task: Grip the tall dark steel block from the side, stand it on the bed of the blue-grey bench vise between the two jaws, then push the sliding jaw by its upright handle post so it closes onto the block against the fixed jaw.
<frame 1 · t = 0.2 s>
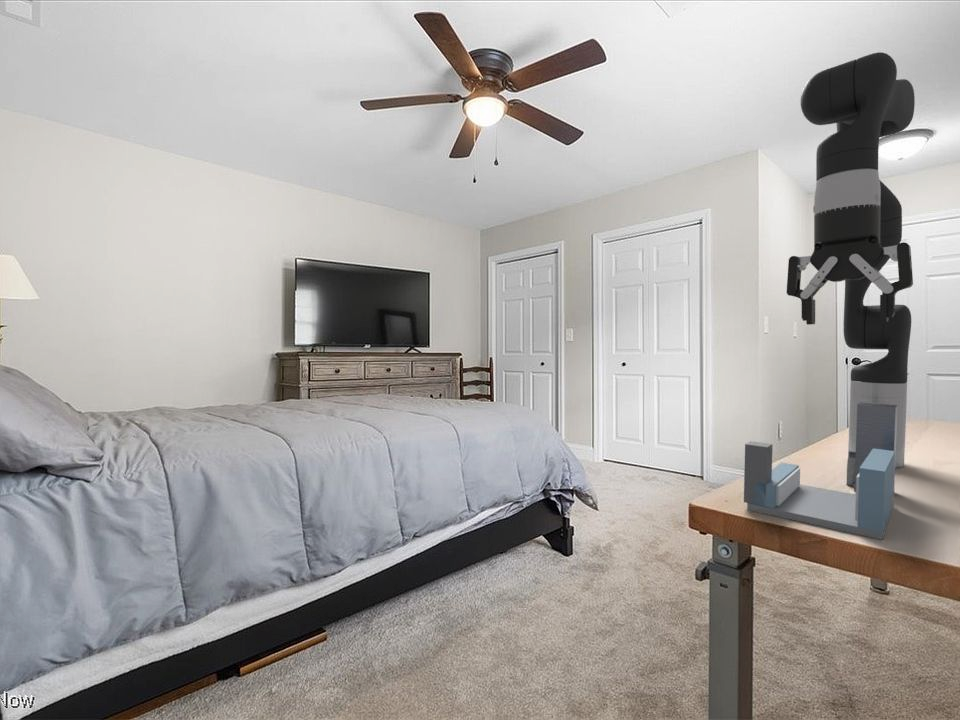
hand: (845, 323, 70), 28 cm above the table, tool pointing down, fingers open, 8 cm apart
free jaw: (774, 466, 78), point 6 cm above the table, slide at 0.0 cm
steel block: (874, 491, 83), on the table
caliper: (860, 477, 93), on the table
vise base: (820, 508, 75), on the table
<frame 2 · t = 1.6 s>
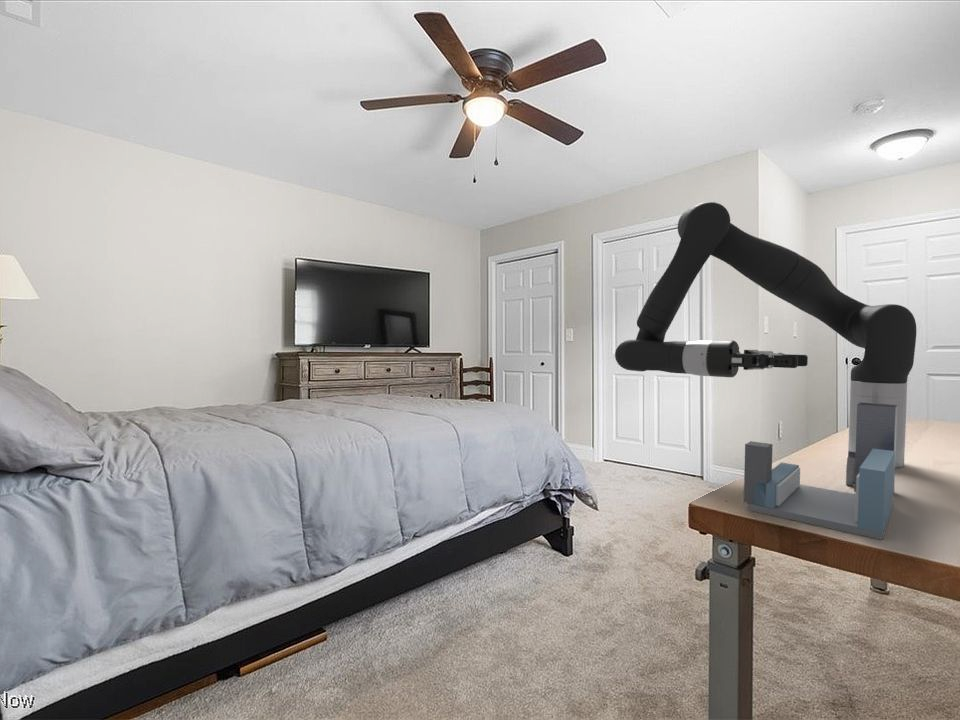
hand: (802, 361, 90), 22 cm above the table, tool horizontal, fingers open, 8 cm apart
nothing on the table moved.
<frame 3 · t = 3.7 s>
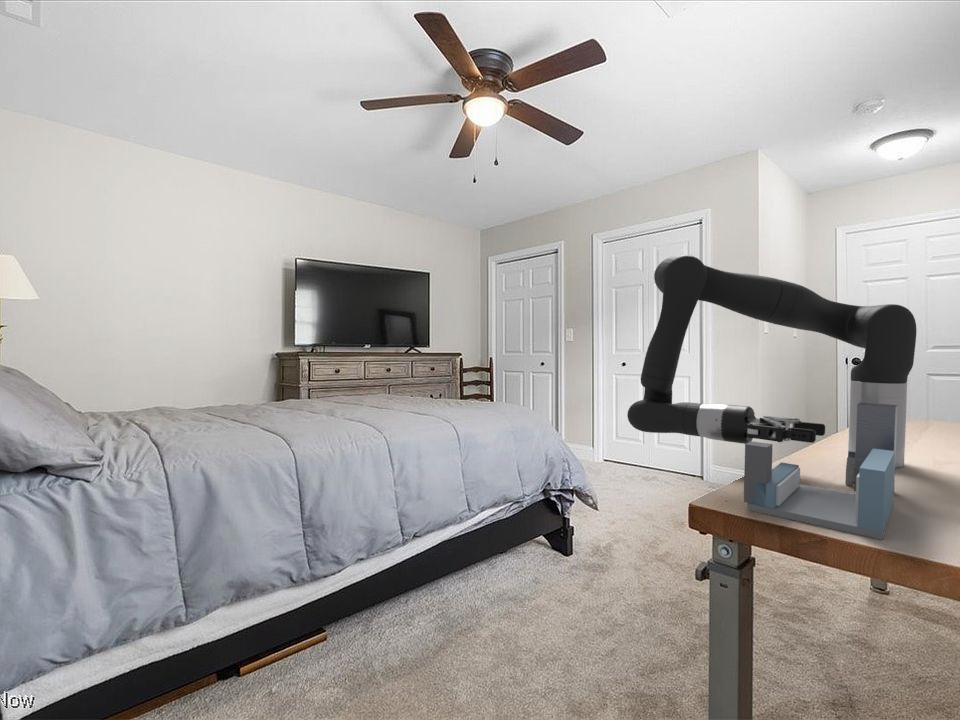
hand: (820, 433, 88), 9 cm above the table, tool horizontal, fingers open, 8 cm apart
nothing on the table moved.
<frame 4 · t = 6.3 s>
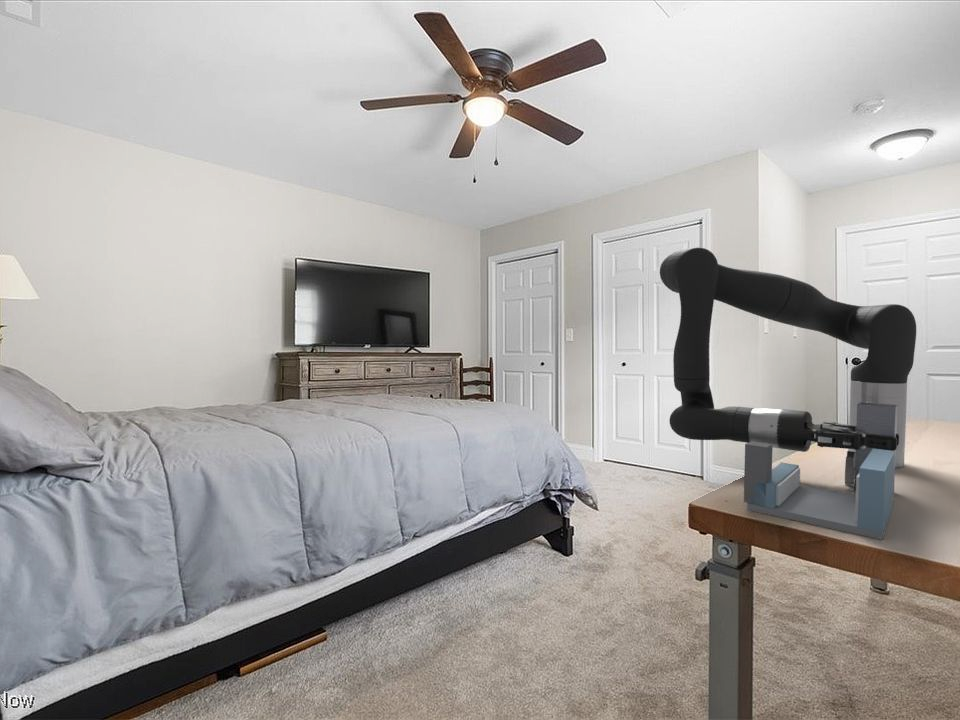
hand: (897, 441, 81), 9 cm above the table, tool horizontal, fingers closed on steel block, 4 cm apart
steel block: (874, 491, 83), on the table, touching gripper
everything else where it was.
when the fingers open (11 cm above the table, at t = 10.2 s): steel block stays where it is, resting on vise base.
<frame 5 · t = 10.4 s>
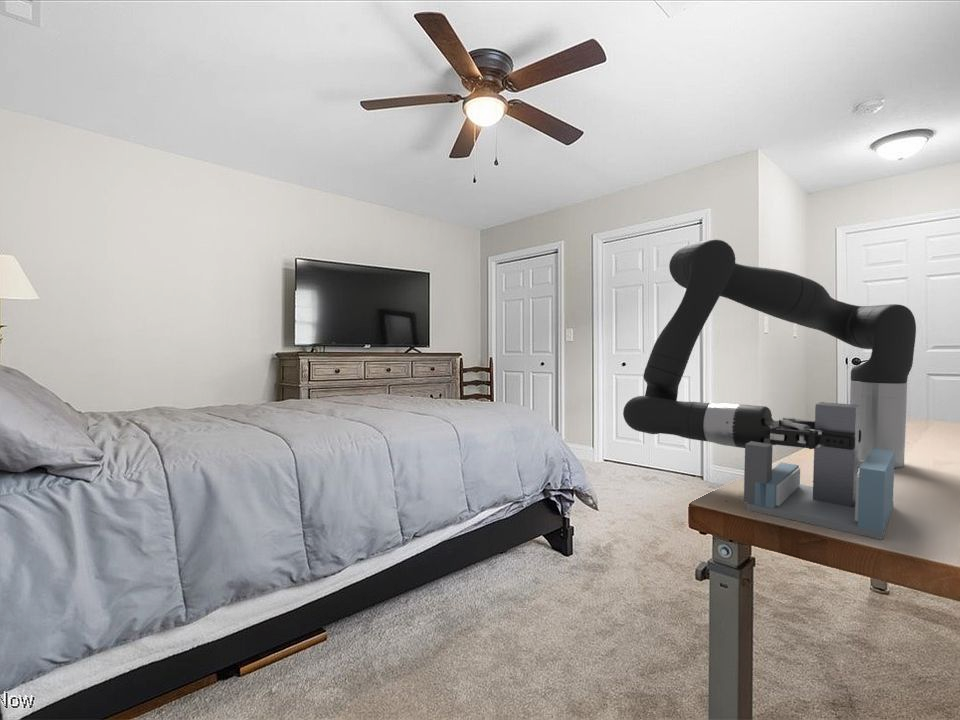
hand: (857, 439, 73), 11 cm above the table, tool horizontal, fingers open, 6 cm apart
steel block: (834, 500, 75), point 1 cm above the table, touching vise base
everything else where it was.
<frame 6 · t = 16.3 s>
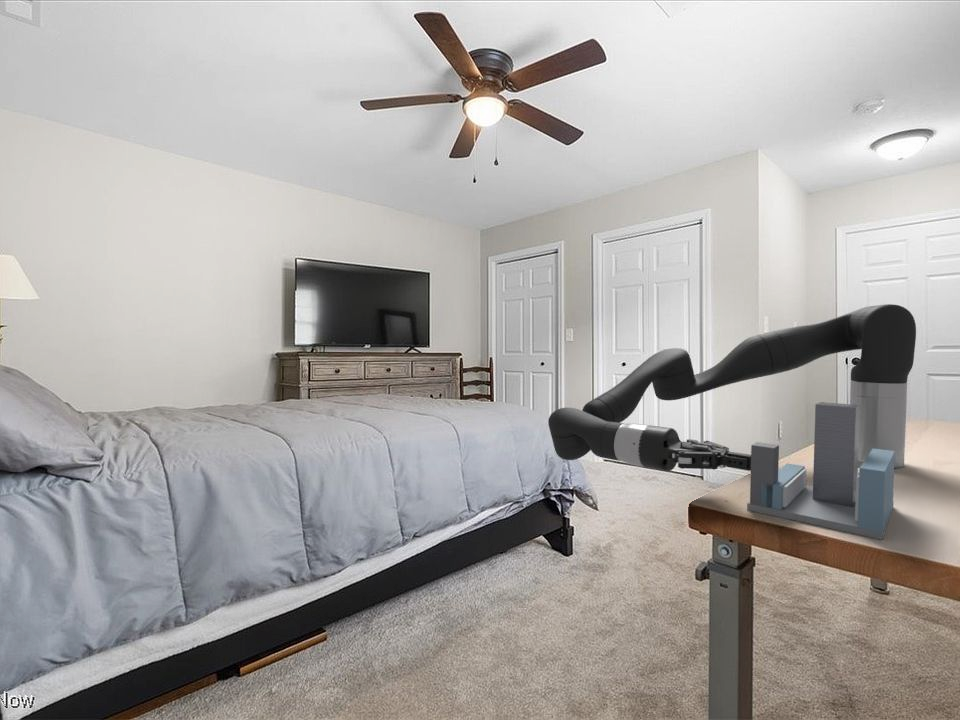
hand: (753, 463, 75), 7 cm above the table, tool horizontal, fingers closed
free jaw: (780, 467, 78), point 6 cm above the table, slide at 0.9 cm, touching gripper
everything else where it was.
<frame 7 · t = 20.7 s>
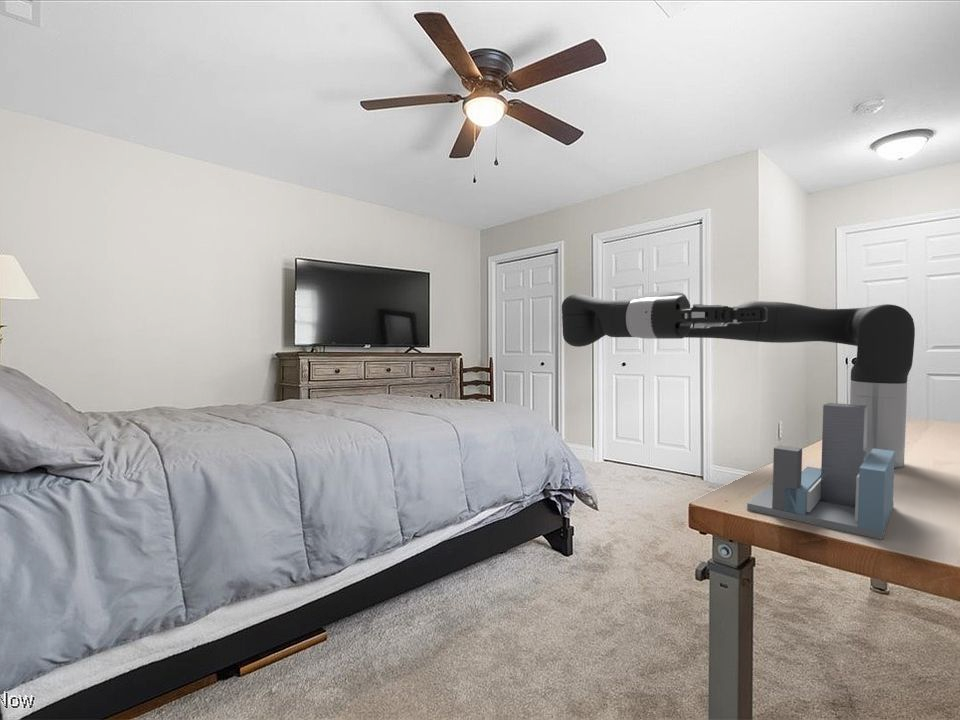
hand: (766, 314, 75), 30 cm above the table, tool horizontal, fingers closed
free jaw: (802, 470, 76), point 6 cm above the table, slide at 3.9 cm
at the end: steel block inside the target area (0.3 cm from its centre), point 1.0 cm above the table; steel block tilted 0°; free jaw slide at 3.9 cm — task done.
